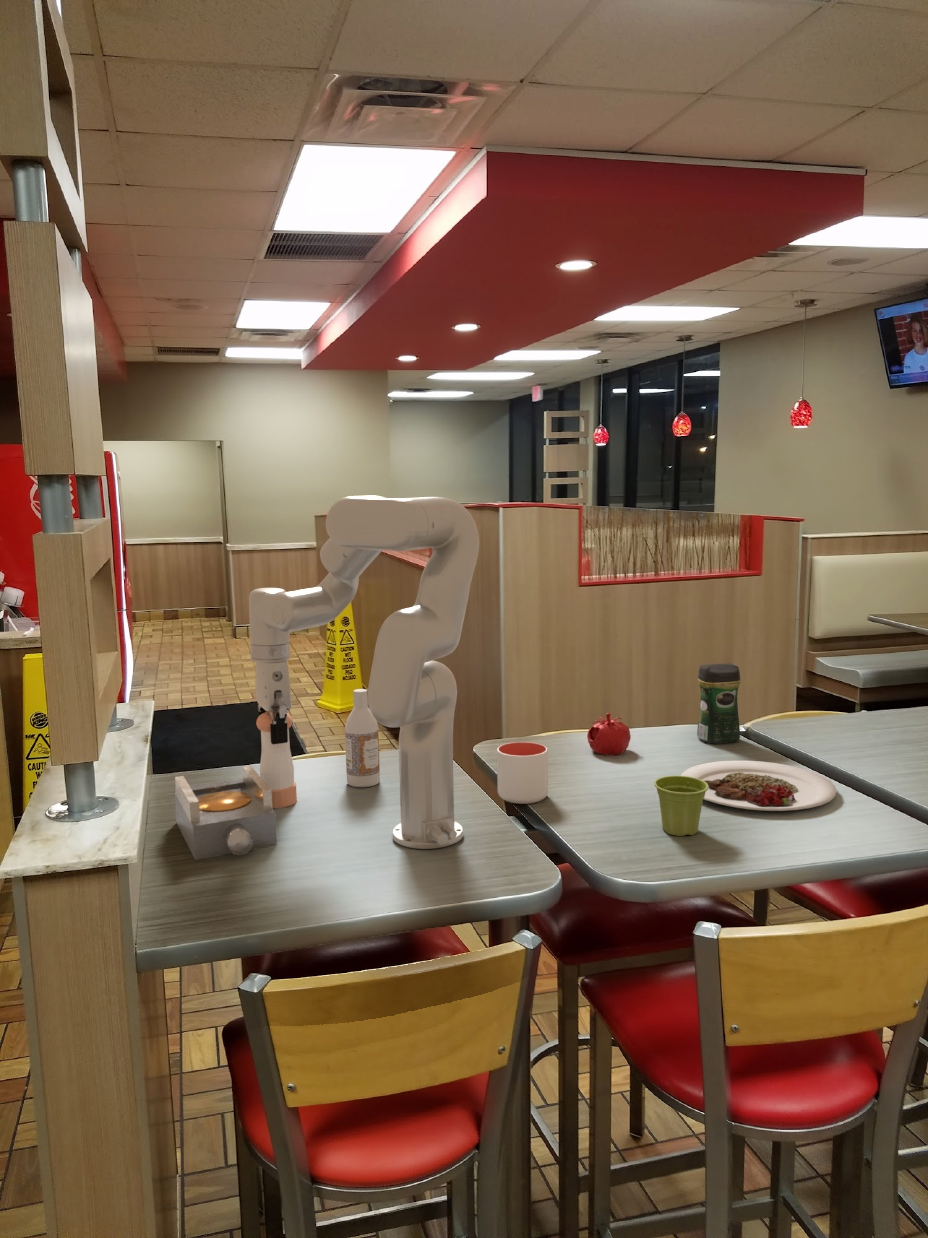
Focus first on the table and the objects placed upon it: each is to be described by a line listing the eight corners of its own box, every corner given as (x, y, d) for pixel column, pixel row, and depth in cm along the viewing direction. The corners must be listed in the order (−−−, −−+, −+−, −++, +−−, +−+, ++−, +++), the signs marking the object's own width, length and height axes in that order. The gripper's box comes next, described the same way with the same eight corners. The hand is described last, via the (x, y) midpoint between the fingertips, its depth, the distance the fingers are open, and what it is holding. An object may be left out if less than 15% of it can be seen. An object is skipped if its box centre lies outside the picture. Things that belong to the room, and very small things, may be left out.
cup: (517, 786, 192) (516, 739, 191) (557, 795, 186) (557, 747, 184) (487, 799, 184) (486, 750, 183) (528, 809, 178) (528, 759, 177)
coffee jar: (728, 734, 227) (730, 659, 225) (744, 743, 220) (746, 666, 217) (691, 737, 226) (693, 662, 223) (706, 745, 218) (707, 668, 215)
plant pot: (713, 826, 168) (714, 780, 166) (698, 844, 160) (699, 795, 158) (663, 817, 172) (664, 772, 171) (646, 834, 164) (646, 787, 163)
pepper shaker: (270, 811, 180) (265, 714, 177) (253, 801, 185) (248, 708, 183) (303, 802, 184) (299, 708, 182) (285, 793, 190) (281, 702, 187)
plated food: (744, 760, 207) (744, 746, 207) (867, 796, 183) (868, 779, 182) (648, 787, 190) (648, 771, 190) (770, 830, 166) (770, 812, 165)
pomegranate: (633, 747, 218) (633, 708, 217) (627, 759, 209) (627, 719, 208) (591, 744, 221) (591, 706, 220) (583, 756, 212) (583, 716, 211)
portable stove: (282, 853, 159) (280, 799, 158) (199, 869, 153) (195, 814, 152) (250, 810, 181) (248, 763, 179) (176, 822, 175) (173, 774, 173)
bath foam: (360, 790, 191) (357, 695, 188) (340, 783, 196) (336, 690, 193) (386, 782, 196) (383, 690, 193) (366, 775, 201) (363, 685, 198)
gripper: (301, 658, 175) (303, 746, 177) (277, 642, 190) (280, 723, 193) (261, 661, 171) (264, 751, 174) (241, 645, 187) (244, 728, 189)
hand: (273, 736), depth 183 cm, fingers open, 9 cm apart
